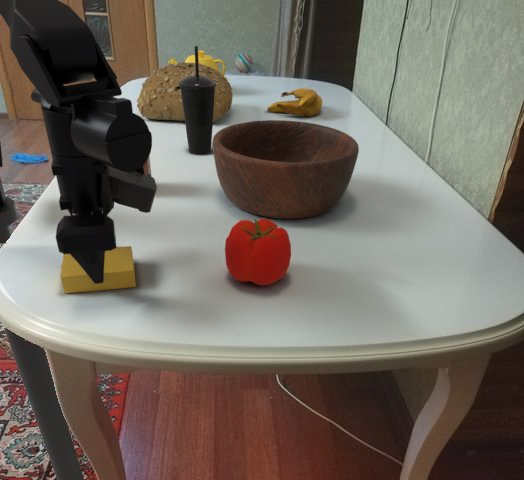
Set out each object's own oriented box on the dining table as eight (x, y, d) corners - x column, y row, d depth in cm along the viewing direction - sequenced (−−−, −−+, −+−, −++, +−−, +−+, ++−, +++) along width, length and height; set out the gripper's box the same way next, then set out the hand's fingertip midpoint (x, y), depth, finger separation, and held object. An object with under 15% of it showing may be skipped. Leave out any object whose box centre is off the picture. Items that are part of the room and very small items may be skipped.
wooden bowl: (329, 172, 104) (335, 119, 98) (369, 224, 85) (380, 162, 78) (207, 174, 100) (206, 119, 94) (221, 230, 81) (220, 166, 75)
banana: (316, 103, 149) (318, 82, 145) (326, 121, 134) (329, 98, 131) (264, 102, 148) (265, 80, 144) (269, 120, 133) (270, 96, 130)
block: (64, 293, 65) (60, 276, 63) (67, 267, 70) (63, 250, 69) (136, 287, 67) (133, 270, 65) (133, 261, 72) (131, 245, 71)
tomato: (220, 263, 73) (219, 214, 68) (280, 259, 74) (283, 210, 70) (232, 299, 66) (232, 246, 61) (298, 292, 67) (302, 241, 63)
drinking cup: (223, 149, 113) (222, 46, 100) (206, 159, 107) (203, 51, 95) (194, 143, 115) (189, 41, 103) (175, 152, 110) (168, 46, 97)
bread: (235, 106, 143) (235, 58, 136) (229, 127, 126) (228, 73, 119) (149, 102, 143) (145, 53, 136) (132, 122, 126) (125, 68, 119)
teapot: (208, 85, 162) (207, 45, 155) (232, 94, 154) (232, 52, 147) (168, 90, 155) (165, 48, 148) (191, 99, 147) (189, 56, 140)
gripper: (154, 174, 53) (166, 300, 62) (143, 124, 67) (154, 233, 76) (41, 180, 50) (72, 309, 60) (54, 127, 64) (77, 239, 74)
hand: (99, 268), depth 68 cm, fingers closed on block, 7 cm apart
